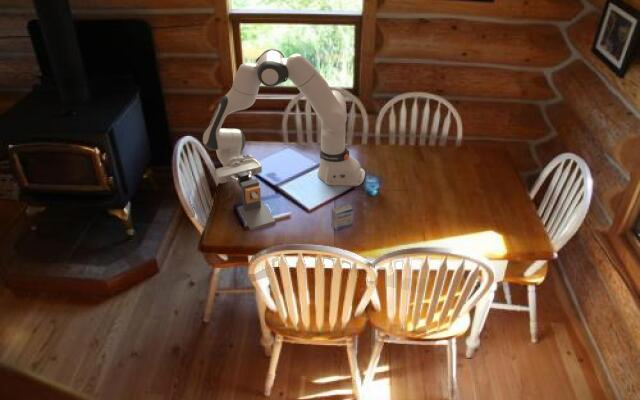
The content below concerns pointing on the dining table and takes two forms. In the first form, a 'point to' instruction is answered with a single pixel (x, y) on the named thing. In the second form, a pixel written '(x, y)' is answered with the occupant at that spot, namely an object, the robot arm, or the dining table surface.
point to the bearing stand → (255, 209)
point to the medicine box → (341, 216)
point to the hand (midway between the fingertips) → (244, 180)
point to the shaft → (243, 178)
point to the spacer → (250, 190)
